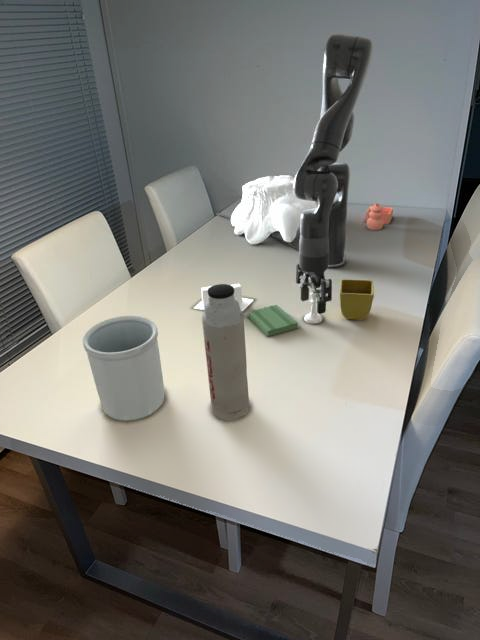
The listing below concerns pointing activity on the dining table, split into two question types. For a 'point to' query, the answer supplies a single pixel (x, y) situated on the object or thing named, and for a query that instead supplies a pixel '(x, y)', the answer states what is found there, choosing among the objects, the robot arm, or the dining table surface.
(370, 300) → the flower pot
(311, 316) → the chess piece
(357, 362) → the dining table surface
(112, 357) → the utensil holder
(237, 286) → the napkin holder
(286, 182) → the tree stump
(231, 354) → the thermos bottle
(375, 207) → the pottery
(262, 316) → the green flat rectangular block
